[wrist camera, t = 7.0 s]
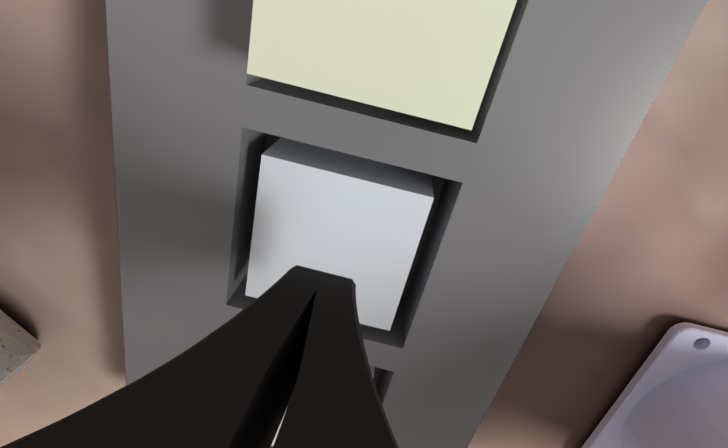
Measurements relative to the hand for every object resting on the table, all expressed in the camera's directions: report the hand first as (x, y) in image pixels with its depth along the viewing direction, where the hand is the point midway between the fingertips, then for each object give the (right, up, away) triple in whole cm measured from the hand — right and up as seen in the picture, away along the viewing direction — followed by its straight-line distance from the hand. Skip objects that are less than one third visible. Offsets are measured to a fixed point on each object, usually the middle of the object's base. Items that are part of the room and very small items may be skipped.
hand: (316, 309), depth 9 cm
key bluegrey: (0, +2, +4) cm, 5 cm away
